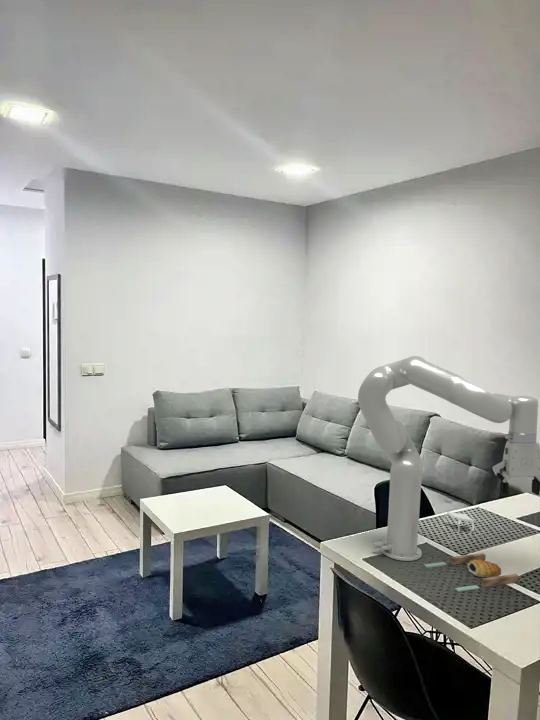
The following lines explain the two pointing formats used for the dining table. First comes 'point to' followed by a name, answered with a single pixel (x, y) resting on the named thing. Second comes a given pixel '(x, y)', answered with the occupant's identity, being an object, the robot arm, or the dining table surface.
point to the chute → (491, 580)
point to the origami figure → (460, 517)
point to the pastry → (483, 568)
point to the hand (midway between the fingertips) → (519, 493)
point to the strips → (455, 588)
